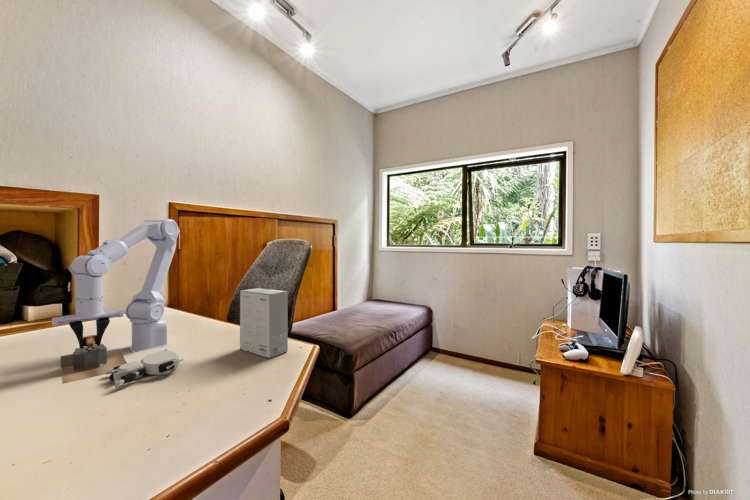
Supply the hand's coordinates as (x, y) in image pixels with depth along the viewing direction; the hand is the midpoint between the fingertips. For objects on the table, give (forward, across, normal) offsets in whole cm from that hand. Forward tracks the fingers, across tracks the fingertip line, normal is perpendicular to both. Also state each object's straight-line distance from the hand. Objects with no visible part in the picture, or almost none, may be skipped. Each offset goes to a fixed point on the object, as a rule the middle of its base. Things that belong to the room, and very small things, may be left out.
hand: (90, 346), depth 86 cm
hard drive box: (+6, -40, +23) cm, 46 cm away
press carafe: (+6, +1, 0) cm, 6 cm away
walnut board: (+6, -1, +1) cm, 6 cm away
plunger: (+4, 0, 0) cm, 4 cm away
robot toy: (+6, -9, +18) cm, 21 cm away
